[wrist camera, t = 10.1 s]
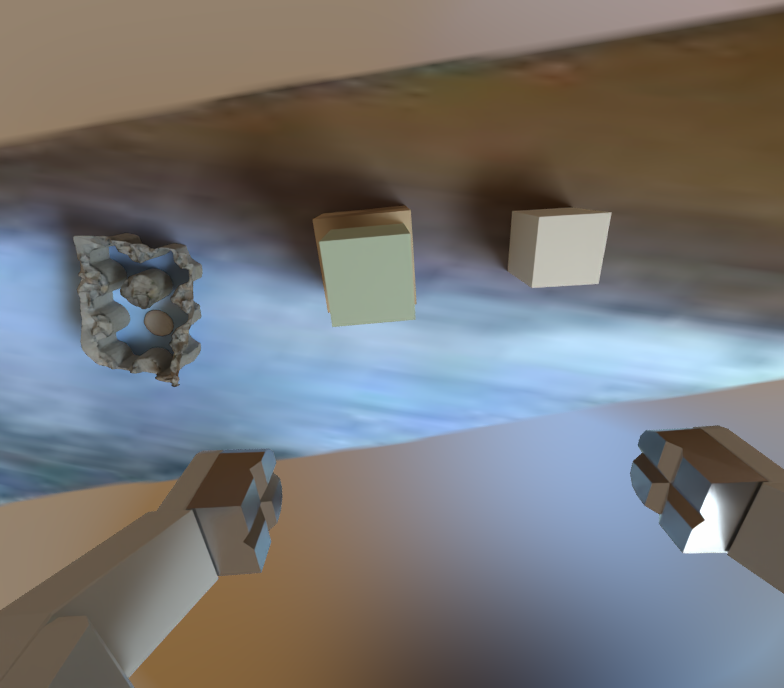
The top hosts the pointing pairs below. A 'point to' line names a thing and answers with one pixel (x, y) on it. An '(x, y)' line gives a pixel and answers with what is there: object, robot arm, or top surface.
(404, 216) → the oak block
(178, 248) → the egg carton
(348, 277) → the green cube
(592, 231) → the cream cube
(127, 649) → the robot arm
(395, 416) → the top surface
